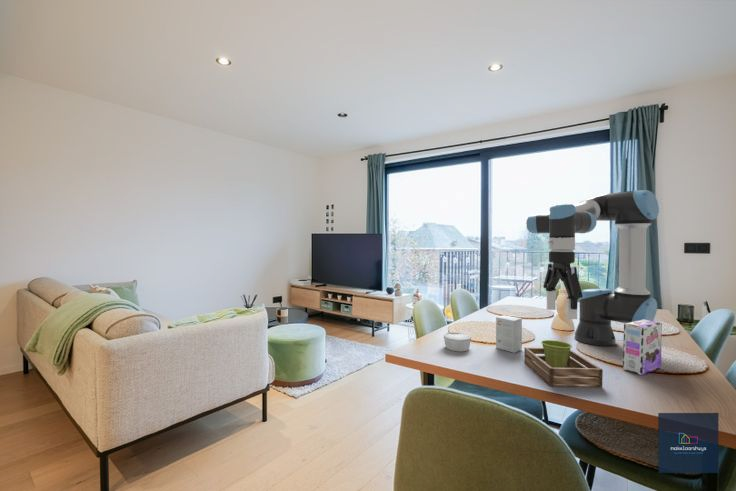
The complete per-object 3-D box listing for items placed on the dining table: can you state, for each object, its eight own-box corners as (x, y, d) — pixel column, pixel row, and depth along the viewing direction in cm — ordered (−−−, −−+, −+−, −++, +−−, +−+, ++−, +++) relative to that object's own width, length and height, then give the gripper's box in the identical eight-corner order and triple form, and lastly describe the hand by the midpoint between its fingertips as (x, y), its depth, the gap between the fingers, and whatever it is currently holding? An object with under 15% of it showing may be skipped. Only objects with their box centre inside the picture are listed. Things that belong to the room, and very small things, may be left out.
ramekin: (461, 342, 147) (461, 330, 147) (476, 351, 137) (477, 338, 136) (438, 345, 144) (438, 333, 143) (453, 354, 133) (453, 340, 133)
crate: (567, 363, 123) (568, 348, 123) (602, 387, 103) (602, 369, 103) (524, 362, 124) (524, 347, 124) (550, 386, 104) (550, 368, 104)
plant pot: (534, 365, 119) (535, 341, 119) (552, 362, 124) (552, 338, 124) (559, 375, 111) (560, 348, 111) (577, 371, 115) (578, 345, 115)
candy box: (641, 375, 112) (642, 326, 112) (621, 369, 117) (622, 322, 117) (661, 368, 118) (663, 322, 118) (642, 362, 124) (643, 318, 123)
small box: (522, 349, 138) (522, 318, 137) (514, 353, 134) (514, 320, 133) (503, 344, 144) (503, 314, 144) (495, 348, 140) (495, 316, 140)
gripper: (533, 249, 125) (533, 306, 126) (570, 252, 100) (569, 323, 101) (554, 249, 125) (553, 306, 125) (596, 252, 100) (595, 323, 100)
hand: (560, 314), depth 113 cm, fingers open, 13 cm apart
